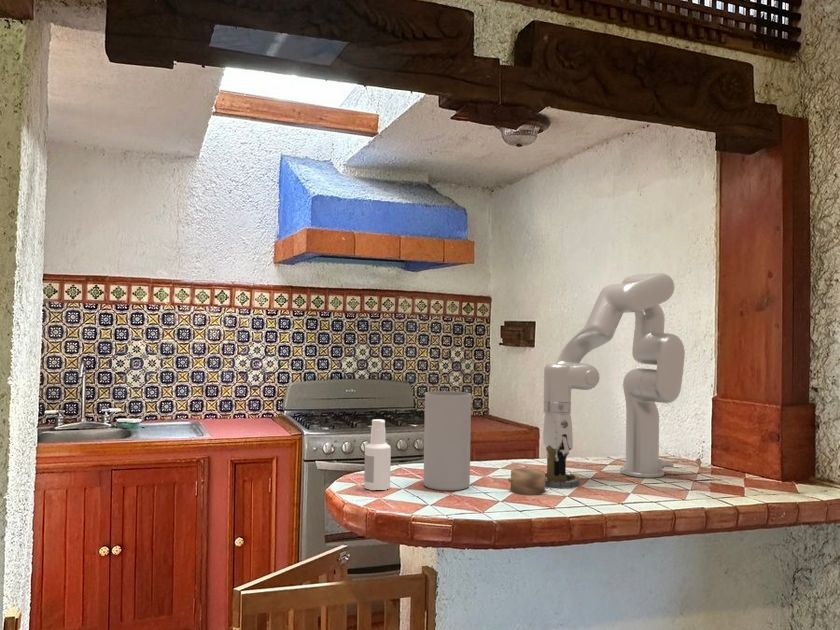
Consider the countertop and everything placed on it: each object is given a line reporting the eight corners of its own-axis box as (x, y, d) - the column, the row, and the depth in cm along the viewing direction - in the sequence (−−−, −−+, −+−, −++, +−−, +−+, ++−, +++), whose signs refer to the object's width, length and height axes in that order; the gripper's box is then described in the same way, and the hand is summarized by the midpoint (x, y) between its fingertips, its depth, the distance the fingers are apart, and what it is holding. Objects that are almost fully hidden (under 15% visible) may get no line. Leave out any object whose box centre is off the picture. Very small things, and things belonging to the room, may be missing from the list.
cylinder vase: (458, 479, 194) (460, 391, 195) (477, 489, 182) (478, 395, 183) (416, 482, 190) (418, 391, 190) (433, 492, 178) (434, 396, 178)
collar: (566, 477, 200) (567, 470, 200) (586, 487, 188) (586, 479, 188) (526, 479, 197) (526, 471, 197) (544, 488, 185) (544, 480, 185)
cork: (565, 481, 195) (566, 442, 195) (568, 486, 189) (568, 445, 189) (544, 480, 195) (544, 441, 196) (546, 485, 189) (546, 445, 190)
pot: (539, 486, 188) (539, 467, 188) (553, 494, 179) (553, 474, 179) (502, 487, 185) (503, 468, 186) (515, 495, 177) (515, 475, 177)
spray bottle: (373, 484, 186) (375, 417, 187) (394, 487, 183) (396, 419, 183) (358, 489, 180) (360, 420, 181) (380, 492, 177) (381, 422, 177)
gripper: (583, 411, 185) (582, 479, 185) (557, 404, 202) (556, 467, 201) (557, 411, 184) (556, 480, 183) (533, 404, 200) (532, 468, 199)
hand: (556, 473), depth 192 cm, fingers closed on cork, 3 cm apart
